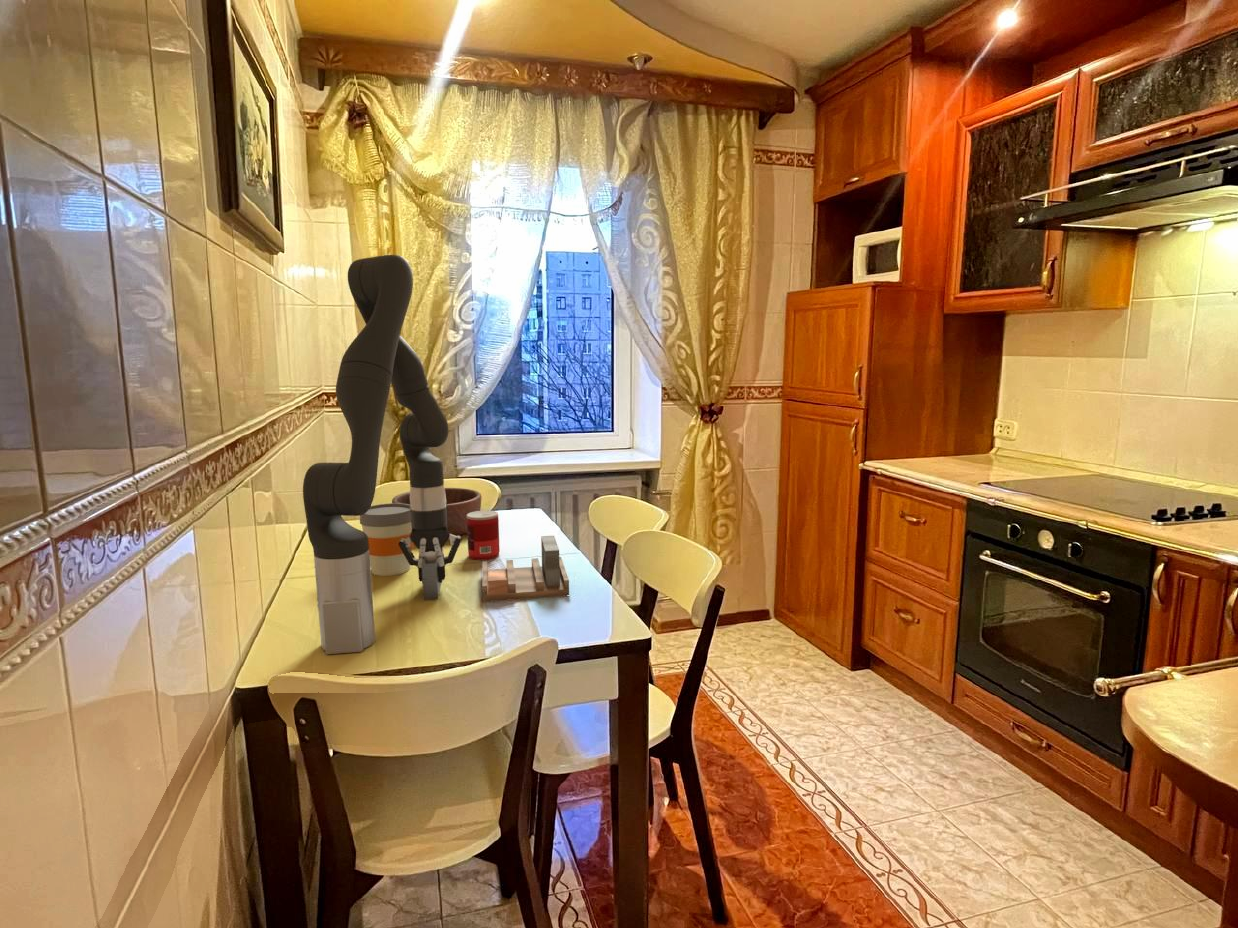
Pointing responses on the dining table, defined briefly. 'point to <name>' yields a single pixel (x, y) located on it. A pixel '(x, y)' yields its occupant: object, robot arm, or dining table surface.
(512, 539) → the dining table surface
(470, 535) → the canned food
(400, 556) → the reusable coffee cup
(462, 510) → the wooden bowl
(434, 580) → the panel
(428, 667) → the dining table surface
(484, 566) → the rack
